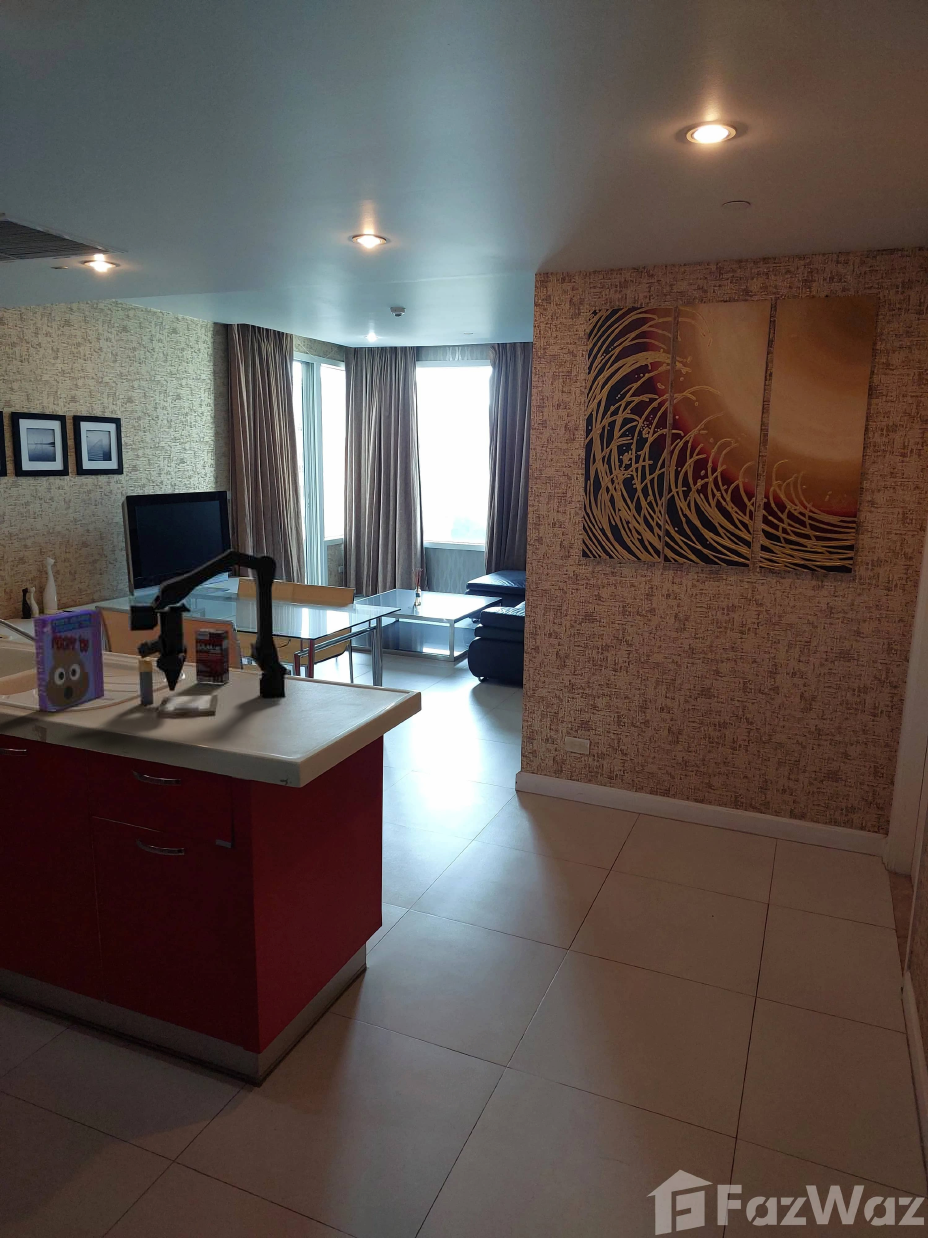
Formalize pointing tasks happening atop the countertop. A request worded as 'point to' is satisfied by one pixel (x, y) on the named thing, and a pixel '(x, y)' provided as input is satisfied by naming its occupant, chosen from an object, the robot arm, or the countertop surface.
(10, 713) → the countertop surface
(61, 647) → the cereal box
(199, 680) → the supplement box
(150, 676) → the marker
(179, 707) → the clipboard
